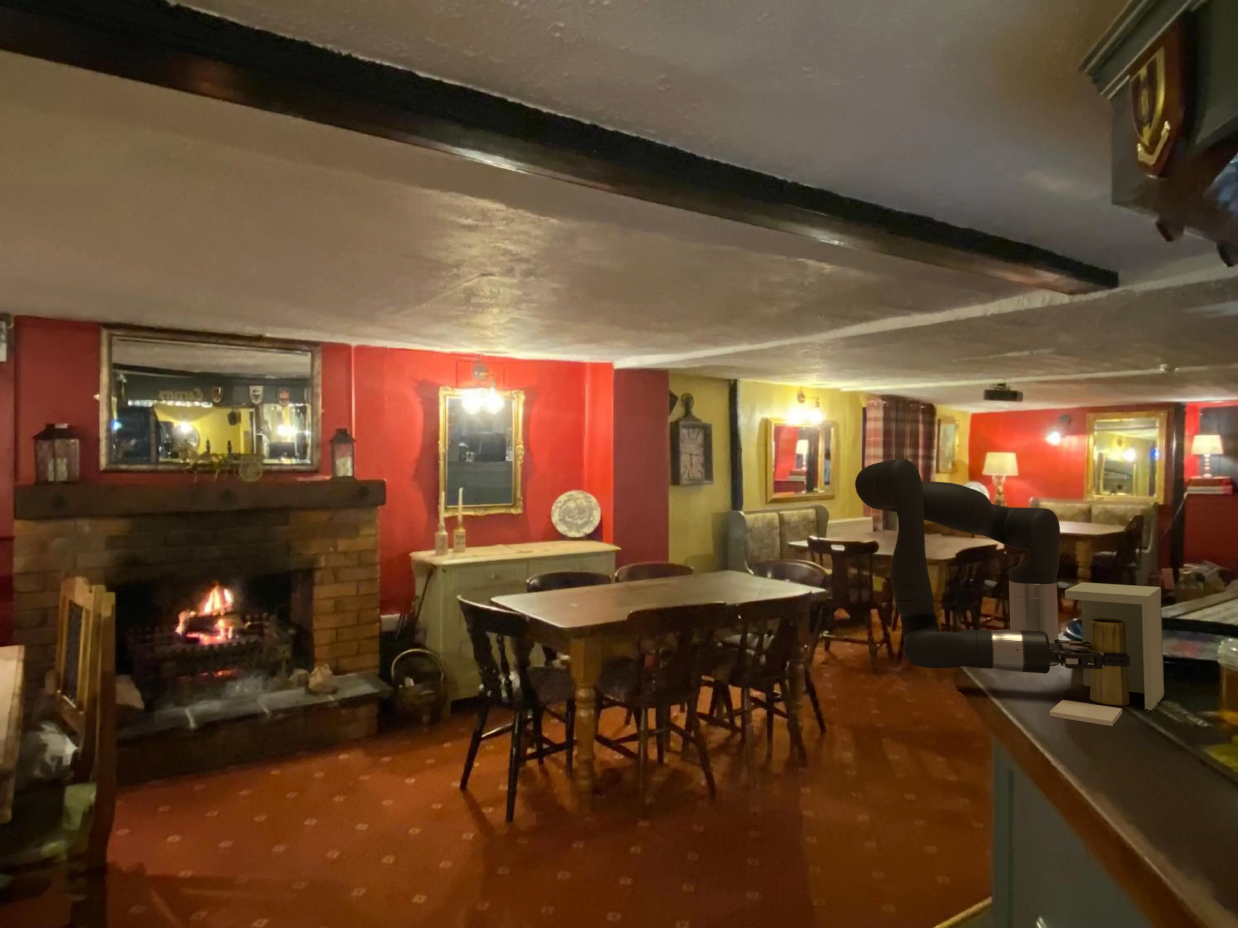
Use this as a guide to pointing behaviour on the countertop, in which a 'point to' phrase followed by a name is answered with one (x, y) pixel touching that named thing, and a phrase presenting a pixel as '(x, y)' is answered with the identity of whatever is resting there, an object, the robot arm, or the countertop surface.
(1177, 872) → the countertop surface
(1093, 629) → the vase
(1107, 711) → the tile
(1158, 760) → the countertop surface
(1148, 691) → the shelf nook
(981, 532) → the robot arm
